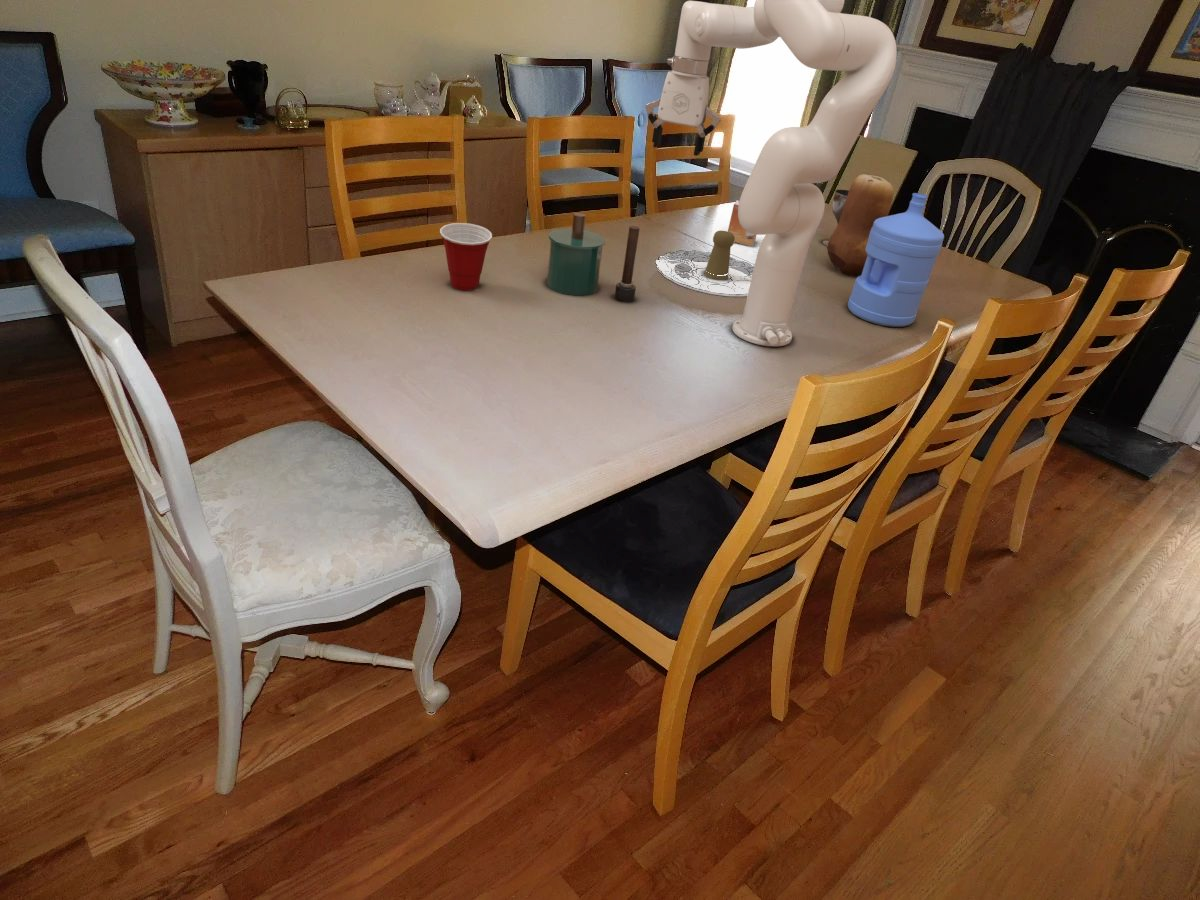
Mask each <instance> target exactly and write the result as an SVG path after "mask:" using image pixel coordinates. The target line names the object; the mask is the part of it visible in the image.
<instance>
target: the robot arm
mask: <svg viewBox="0 0 1200 900" xmlns="http://www.w3.org/2000/svg"><path fill="white" fill-rule="evenodd" d="M844 5H845V0H755V1H754V5H753V6H740V5H731V4H723V3H711V2H706V1H698V0H687V1H685V2H684V3H683V4H682V7H681V13H680V18H679V25H678V30H677V37H676V43H675V51H674V55H673V57H668V58H667V60H666V65H668V66H670V67H671V70H670V71H669V70H668V71H667V74H666V77H665V80H664V84H663V87H662V91H661V95H660V96H661V97H660V99H657V100H654V101H652V102H649V103H646V104H645V110H646V111H645V112H646V114H647V118H648V120H649V122H650V123H651V127H652V128H653V133H652V140H651V142H652V143H653V148H658V147H660V146H661V143H662V137H663V130H664V128H663V124H664V123H669V124H675V125H679V126H683V127H684V126H685V127H691V128H695V129H696V132H697V133H698V136H696V139H695V144H694V149H693V156H695V157H698V156H699V155H700V154H701V153H703V151H704V146H705V141H706V137H707V136H708V135H709V134H711V133H712V132H713V131H715V130H716V127H718V125H719V124H720V122H721V120H722V118H721V117H720V116H719V115H718V114H717V113H716V112H715V111H714V110H712V109H711V108H710V106H708V105H709V95H710V77H709V76H708V75H707V74H708V70H709V64H710V58H711V53H712V47H714V48H715V47H717V48H730V49H739V50H741V49H743V50H745V49H752V48H758V47H762V46H767V45H771V44H773V43H774V42H775V41H776V40H777V39H779V38H780V39H781V40H782V41H783V43H784V44H785V45H786V47H787V48H788V49H789V51H790V52H791V53H792V54H793V56H794V57H795V59H796V60H798V61H799V63H800V64H802V65H803V66H805V67H807V68H810V69H812V70H821V71H834V72H844V76H843V77H842V78H841V79H840V80H839V81H838V82H837V83H835V85H833V86H832V87H831V89H830V90H829V91H828V92H827V94H825V96H824V98H822V100H821V102H820V104H819V107H818V109H817V111H816V112H815V115H814V116H813V118H812V120H811V121H810V122H809V124H808V125H806V126H789V127H784V128H781V129H779V130H777V131H776V132H774V133H773V134H772V135H771V136H770V137H769V138H768V139H767V140H766V142H765V143H764V145H763V146H762V149H761V151H760V153H759V155H758V157H757V159H756V161H755V163H754V166H753V168H752V170H751V172H750V174H749V177H748V178H747V181H746V183H745V185H744V188H743V190H742V191H741V195H740V197H739V200H738V201H739V205H738V218H739V222H740V224H741V226H742V227H743V229H744V230H745V231H747V232H749V233H751V234H755V235H756V236H763V235H764V237H763V238H762V241H761V242H760V245H759V248H758V251H757V254H756V258H755V262H754V266H753V270H752V274H751V279H750V284H749V287H748V291H747V295H746V300H745V304H744V308H743V312H742V317H740V318H737V319H736V320H735V321H734V322H733V324H732V326H731V327H732V331H733V333H734V334H735V335H736V336H737V337H738V338H740V339H742V340H744V341H745V342H749V343H752V344H753V345H754V344H755V345H758V346H763V347H784V346H786V345H788V344H790V343H791V341H792V339H793V333H792V331H791V330H790V329H789V328H788V325H789V322H790V318H791V314H792V311H793V308H794V304H795V299H796V295H797V292H798V289H799V285H800V281H801V278H802V274H803V270H804V267H805V263H806V260H807V256H808V253H809V250H810V247H811V244H812V242H813V239H814V237H815V235H816V233H817V230H818V228H819V227H820V224H821V221H822V219H823V217H824V213H825V206H826V205H825V202H826V201H825V196H824V194H823V192H822V190H821V189H820V188H819V187H818V186H816V185H815V184H820V183H825V182H828V181H830V180H833V178H835V177H836V175H837V174H838V173H839V171H840V170H841V168H842V166H843V165H844V163H845V161H846V159H847V157H848V156H849V154H850V152H851V150H852V148H853V146H854V145H855V143H856V141H857V139H858V138H859V136H860V134H861V132H862V131H863V128H864V126H865V124H866V122H867V121H868V119H869V117H870V115H871V114H872V112H873V111H874V109H875V107H876V106H877V104H878V103H879V101H880V100H881V98H882V97H883V95H884V93H885V92H886V90H887V88H888V86H889V85H890V83H891V80H892V78H893V76H894V73H895V70H896V65H897V55H898V54H897V53H898V51H897V50H898V49H897V42H896V37H895V36H894V34H893V32H892V29H890V27H889V26H888V24H886V23H884V22H882V21H881V20H879V19H877V18H875V17H874V18H873V17H871V16H866V15H860V14H851V13H843V12H842V10H843V8H844V7H845V6H844ZM655 108H658V111H657V114H655V111H654V110H655ZM656 115H657V116H656ZM707 117H708V118H709V119H710V120H711V123H710V124H709V125H708V126H707V127H706V126H705V124H704V123H706V118H707Z"/></svg>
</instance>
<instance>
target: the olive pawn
mask: <svg viewBox="0 0 1200 900" xmlns="http://www.w3.org/2000/svg"><path fill="white" fill-rule="evenodd" d="M734 240H735V237H734V235H733V234H732V233H730V232H728V230H718V231H716V232H715V233H714V234H713V236H712V242H713V246H712V248H711V253H710V255H709V258H708V261H707V264H706V267H705V270H704V273H703V274H704V276H705V277H707V278H709V279H712V280H717V281H725V280H728V278H729V273H730V271H729V270H730V259H731V248H732V247H733V245H734V244H735V242H734ZM706 271H707V272H706ZM708 272H709V273H708ZM710 273H711V274H710ZM727 273H728V275H726V276H717V275H724V274H727ZM713 274H714V275H713Z"/></svg>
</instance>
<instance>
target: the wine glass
mask: <svg viewBox="0 0 1200 900" xmlns="http://www.w3.org/2000/svg"><path fill="white" fill-rule="evenodd" d="M849 190H850V189H835V191H834V195H833V199H832V206H831V207H832V208H831V209H832V214H833V216H834V217H835V220H836V223H837V225H838V223H839V221H840V218H841V214H842V211H843V208H844V206H845V203H846V200H847V196H848V192H849ZM829 240H830V239H827V240H823V241H822V244H823V245H825V246H827V245H828V242H829Z"/></svg>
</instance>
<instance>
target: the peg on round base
mask: <svg viewBox="0 0 1200 900" xmlns="http://www.w3.org/2000/svg"><path fill="white" fill-rule="evenodd" d="M640 228H641V227H639V226H636V225H629V227H628V234H627V241H626V249H625V256H624V262H623V270H622V276H621V280H620V281H619V282H617V283H616V284H615V290H614V299H615V300H616V301H619V302H621V303H632V302H634V301H635V296H636V291H637V290H636V289H637V286H636V285H635V284H634V282H633V275H634V270H635V262H636V257H637V256H636V255H637V249H638V243H639V235H640Z"/></svg>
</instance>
